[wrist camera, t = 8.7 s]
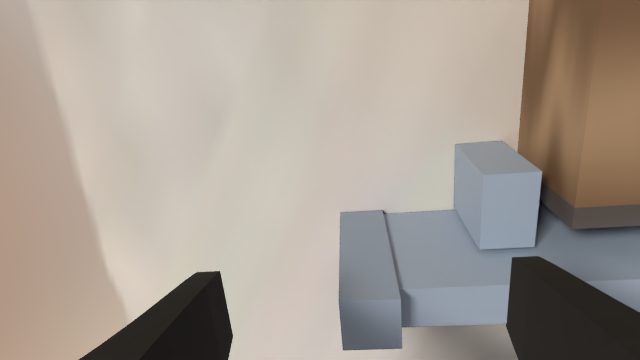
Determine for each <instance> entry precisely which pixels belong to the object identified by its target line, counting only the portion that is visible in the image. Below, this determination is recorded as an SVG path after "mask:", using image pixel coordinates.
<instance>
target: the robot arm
mask: <svg viewBox="0 0 640 360" xmlns="http://www.w3.org/2000/svg"><path fill="white" fill-rule="evenodd" d="M506 327H507V330H508V333H509V336H510V338H511V341H512V344H513V346H514V349H515V352H516V354H517V357H518V359H519V360H640V312H638V311H636V310H634V309H633V308H631V307H629V306H627V305H625V304H623V303H622V302H620V301H618V300H616V299H614V298H613V297H611V296H609V295H607V294H606V293H604V292H602V291H600V290H598V289H597V288H595V287H593V286H592V285H590V284H588V283H586V282H585V281H583V280H581V279H579V278H578V277H576V276H574V275H573V274H571V273H569V272H567V271H566V270H564V269H562V268H560V267H559V266H557V265H555V264H553V263H551V262H549V261H547V260H546V259H544V258H541V257H539V256H528V257H512V262H511V274H510V287H509V299H508V311H507V323H506ZM232 338H233V334H232V329H231V324H230V319H229V314H228V309H227V304H226V299H225V294H224V289H223V284H222V279H221V274H220V271H215V272H197V273H195V274H194V275H192V276H191V277H189V278H188V279H187V280H185V281H184V282H183V283H181V284H180V285H179V286H177V287H176V288H175V289H174V290H172V291H171V292H170V293H169V294H167V295H166V296H165V297H164V298H162V299H161V300H160V301H159V302H157V303H156V304H155V305H153V306H152V307H151V308H150V309H148V310H147V311H146V312H144V313H143V314H142V315H141V316H139V317H138V318H137V319H135V320H134V321H133V322H131V323H130V324H129V325H127V326H126V327H125V328H123V329H122V330H120V331H119V332H118V333H116V334H115V335H114V336H112V337H111V338H110V339H108V340H107V341H105V342H104V343H102V344H101V345H100V346H98V347H97V348H95V349H94V350H92V351H91V352H90V353H88V354H87V355H85V356H84V357H82V358H80V359H79V360H228V357H229V353H230V348H231V343H232Z"/></svg>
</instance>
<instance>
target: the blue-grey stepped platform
mask: <svg viewBox="0 0 640 360" xmlns="http://www.w3.org/2000/svg"><path fill="white" fill-rule="evenodd" d="M541 179H542V171H541V170H540V169H538V168H537V167H536V166H534V165H533V164H532V163H530V162H529V161H528V160H527V159H525V158H524V157H523V156H521V155H520V154H519V153H517V152H516V151H515V150H513V149H512V148H511V147H509V146H508V145H507V144H505V143H504V142H503V141H493V142H479V143H464V144H455V176H454V207H455V209H456V210H444V211H426V212H409V213H391V214H383V210H377V211H360V212H342V213H340V260H339V310H340V321H341V333H342V344H343V350H370V349H401V348H402V327H428V326H457V325H485V324H506V323H507V311H508V299H509V287H510V274H511V262H512V257H528V256H539V257H541V258H544V259H546V260H547V261H549V262H551V263H553V264H555V265H557V266H559V267H560V268H562V269H564V270H566V271H567V272H569V273H571V274H573V275H574V276H576V277H578V278H579V279H581V280H583V281H585V282H586V283H588V284H590V285H592V286H593V287H595V288H597V289H598V290H600V291H602V292H604V293H606V294H607V295H609V296H611V297H613V298H614V299H616V300H618V301H620V302H622V303H623V304H625V305H627V306H629V307H631V308H633V309H634V310H636V311H638V312H640V226H624V227H605V228H586V229H571V228H570V227H569V226H568V225H566V224H565V223H564V222H563V221H562V220H561V219H560V218H559V217H558V216H557V215H555V214H554V213H553V212H552V211H551V210H550V209H549V208H548V207H547V206H546V205H539V199H540V189H541Z"/></svg>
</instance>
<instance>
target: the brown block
mask: <svg viewBox="0 0 640 360" xmlns="http://www.w3.org/2000/svg"><path fill="white" fill-rule="evenodd" d="M518 153H519V154H520V155H521V156H523V157H524V158H525V159H527V160H528V161H529V162H530V163H532V164H533V165H534V166H536V167H537V168H538V169H540V170H541V171H542V179H541V189H540V199H539V200H540V201H541V202H542V203H543V204H545V205H546V206H547V207H548V208H549V209H550V210H551V211H552V212H553V213H554V214H555V215H557V216H558V217H559V218H560V219H561V220H562V221H563V222H564V223H565V224H566V225H568V226H569V227H570V228H571V229H586V228H605V227H624V226H640V0H529V13H528V26H527V39H526V51H525V64H524V77H523V90H522V103H521V115H520V128H519V141H518Z"/></svg>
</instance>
